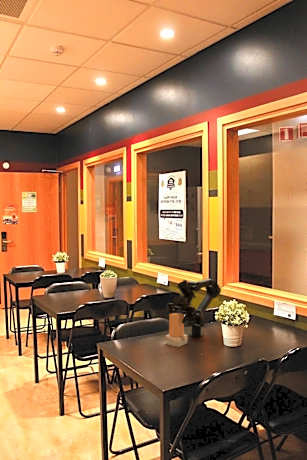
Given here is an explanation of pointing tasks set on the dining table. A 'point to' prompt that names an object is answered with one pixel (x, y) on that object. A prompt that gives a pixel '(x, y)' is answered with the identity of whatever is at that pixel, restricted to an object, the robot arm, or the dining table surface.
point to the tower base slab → (176, 343)
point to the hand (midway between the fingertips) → (175, 321)
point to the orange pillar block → (176, 324)
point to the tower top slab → (177, 338)
